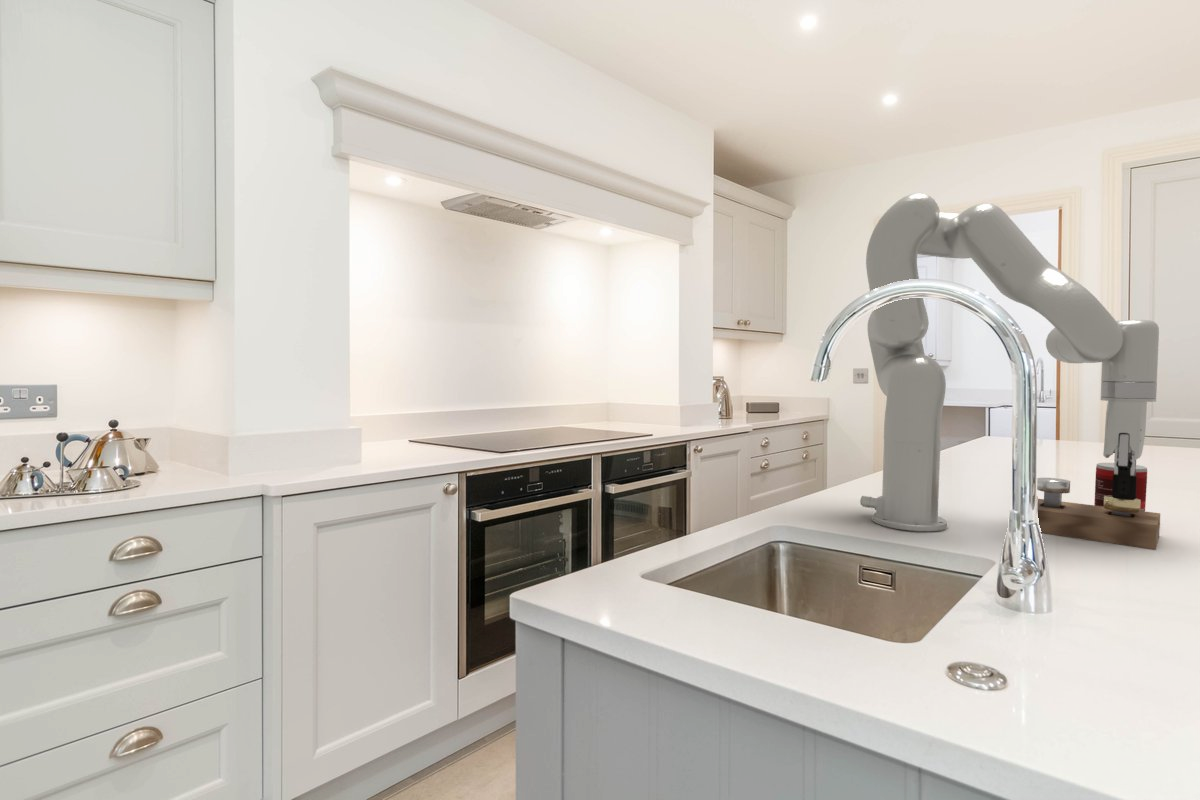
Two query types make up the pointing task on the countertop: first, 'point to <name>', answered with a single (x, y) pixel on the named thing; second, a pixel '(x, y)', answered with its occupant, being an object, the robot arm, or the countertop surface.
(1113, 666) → the countertop surface
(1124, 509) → the brass button
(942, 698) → the countertop surface
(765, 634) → the countertop surface
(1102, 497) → the canned food
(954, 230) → the robot arm
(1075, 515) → the button block
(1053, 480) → the steel button
